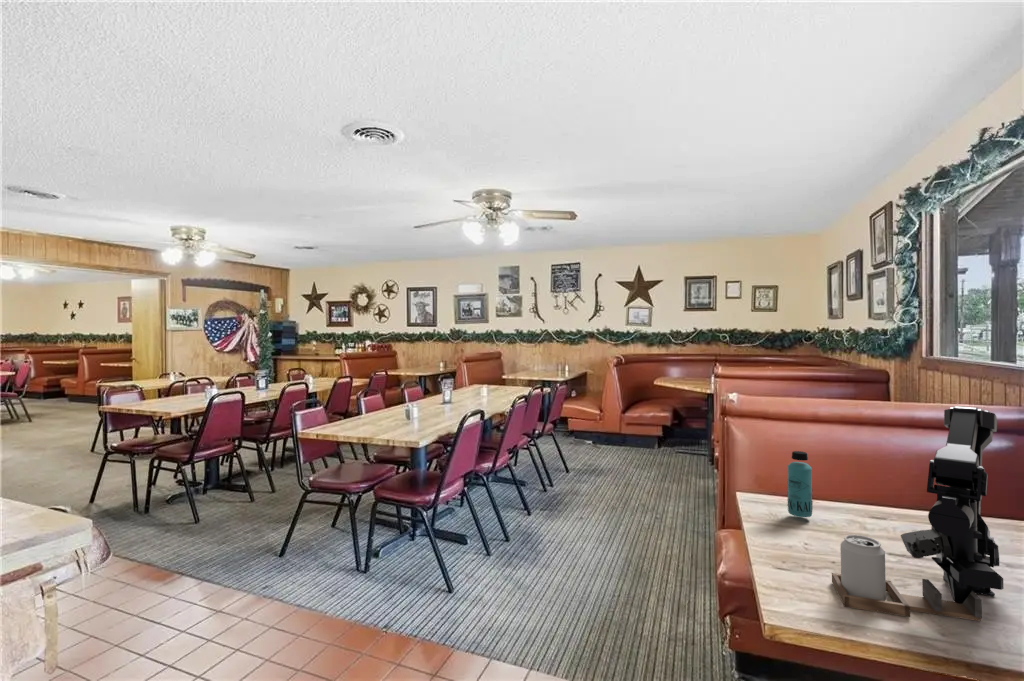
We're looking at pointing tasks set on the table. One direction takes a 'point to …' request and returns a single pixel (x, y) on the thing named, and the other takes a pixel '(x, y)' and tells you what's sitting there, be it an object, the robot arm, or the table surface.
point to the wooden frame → (913, 602)
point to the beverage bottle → (799, 486)
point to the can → (863, 567)
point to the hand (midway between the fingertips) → (957, 602)
